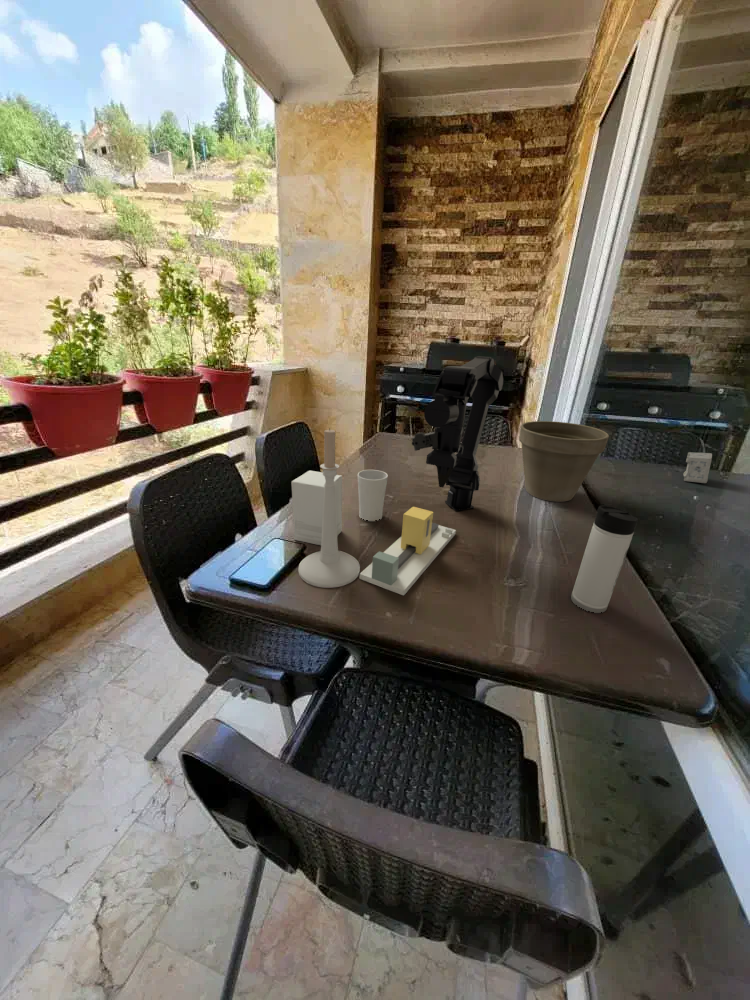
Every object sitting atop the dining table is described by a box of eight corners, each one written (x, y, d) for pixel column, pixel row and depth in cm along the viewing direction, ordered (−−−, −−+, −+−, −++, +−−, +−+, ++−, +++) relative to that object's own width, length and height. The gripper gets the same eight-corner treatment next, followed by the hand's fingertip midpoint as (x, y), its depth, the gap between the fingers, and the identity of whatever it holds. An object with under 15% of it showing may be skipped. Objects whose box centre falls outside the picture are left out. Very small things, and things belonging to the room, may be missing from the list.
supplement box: (342, 531, 97) (344, 474, 91) (327, 547, 90) (327, 487, 84) (310, 524, 100) (309, 469, 94) (292, 539, 92) (290, 480, 86)
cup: (382, 524, 102) (384, 481, 97) (352, 520, 103) (354, 477, 98) (387, 511, 109) (390, 471, 104) (359, 508, 110) (361, 468, 106)
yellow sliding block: (409, 538, 92) (412, 506, 89) (429, 545, 90) (433, 512, 87) (400, 547, 88) (403, 514, 85) (420, 554, 86) (424, 520, 83)
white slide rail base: (419, 523, 103) (421, 502, 101) (455, 534, 99) (458, 512, 96) (359, 578, 79) (360, 552, 76) (403, 595, 75) (406, 568, 72)
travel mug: (562, 593, 78) (589, 502, 70) (593, 593, 78) (623, 502, 70) (580, 614, 72) (611, 517, 64) (613, 613, 73) (649, 517, 65)
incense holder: (679, 474, 155) (689, 449, 151) (705, 479, 150) (716, 454, 146) (677, 480, 148) (688, 454, 143) (705, 486, 143) (716, 459, 139)
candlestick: (335, 595, 74) (336, 441, 62) (285, 573, 80) (277, 428, 68) (371, 565, 84) (378, 428, 72) (324, 547, 90) (324, 417, 78)
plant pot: (505, 499, 122) (518, 431, 113) (511, 475, 143) (522, 416, 134) (593, 515, 114) (615, 443, 105) (585, 488, 135) (603, 426, 126)
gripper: (425, 415, 102) (417, 472, 107) (408, 423, 85) (400, 491, 90) (468, 421, 98) (458, 479, 104) (459, 430, 82) (448, 500, 87)
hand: (441, 486), depth 96 cm, fingers closed
